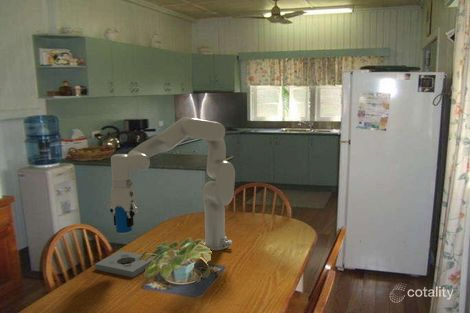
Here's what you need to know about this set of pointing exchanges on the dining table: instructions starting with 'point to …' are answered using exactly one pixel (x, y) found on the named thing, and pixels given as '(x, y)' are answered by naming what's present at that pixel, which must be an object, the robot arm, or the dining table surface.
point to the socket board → (123, 257)
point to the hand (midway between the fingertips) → (123, 225)
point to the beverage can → (121, 221)
